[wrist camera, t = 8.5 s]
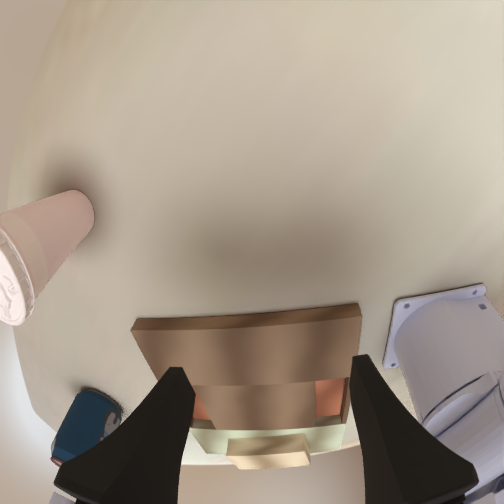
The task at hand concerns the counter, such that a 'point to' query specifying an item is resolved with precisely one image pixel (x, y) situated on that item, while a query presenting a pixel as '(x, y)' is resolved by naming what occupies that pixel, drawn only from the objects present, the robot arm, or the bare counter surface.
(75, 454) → the soda can
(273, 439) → the block
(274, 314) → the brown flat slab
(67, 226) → the smoothie
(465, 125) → the counter surface
